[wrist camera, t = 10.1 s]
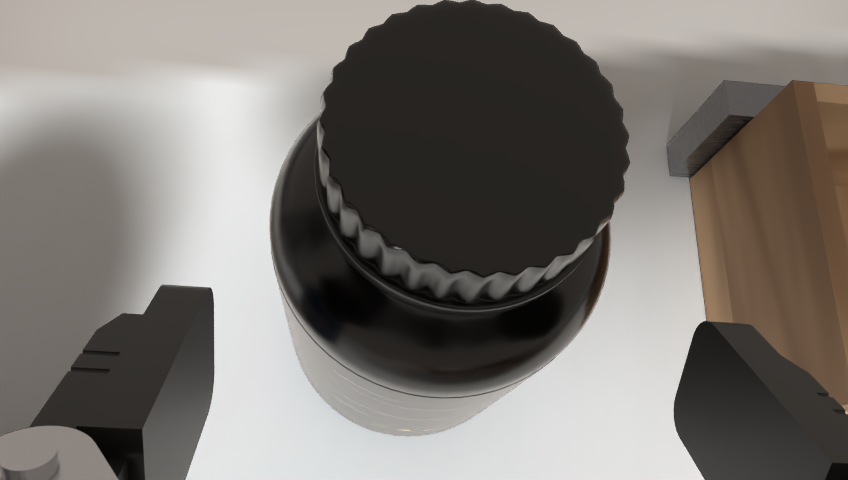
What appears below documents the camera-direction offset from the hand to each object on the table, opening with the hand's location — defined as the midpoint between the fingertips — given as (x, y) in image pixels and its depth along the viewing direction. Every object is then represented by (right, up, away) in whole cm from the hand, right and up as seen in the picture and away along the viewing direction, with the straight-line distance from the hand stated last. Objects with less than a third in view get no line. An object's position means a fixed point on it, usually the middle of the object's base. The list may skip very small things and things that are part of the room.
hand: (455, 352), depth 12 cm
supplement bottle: (-1, -1, +10) cm, 10 cm away
